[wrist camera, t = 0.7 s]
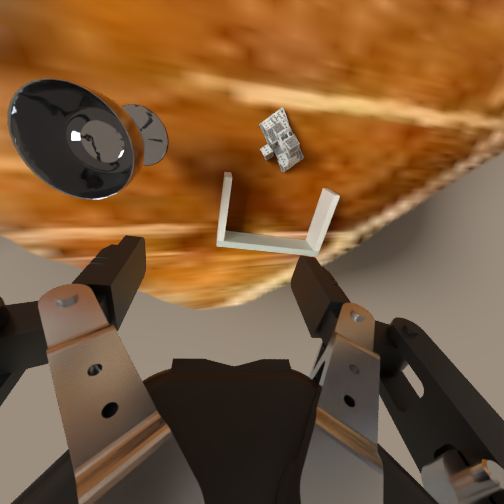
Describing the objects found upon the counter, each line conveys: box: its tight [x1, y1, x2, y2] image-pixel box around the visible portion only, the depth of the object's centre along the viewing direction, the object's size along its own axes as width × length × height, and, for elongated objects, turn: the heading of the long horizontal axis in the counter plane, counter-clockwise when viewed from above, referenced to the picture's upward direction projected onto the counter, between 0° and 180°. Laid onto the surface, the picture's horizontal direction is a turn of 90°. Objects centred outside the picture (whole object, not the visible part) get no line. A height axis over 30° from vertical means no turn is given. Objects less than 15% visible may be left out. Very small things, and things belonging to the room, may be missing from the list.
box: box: [217, 171, 340, 256], centre depth 35 cm, size 10×17×4 cm, turn 79°
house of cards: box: [259, 108, 304, 172], centre depth 28 cm, size 9×9×8 cm
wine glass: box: [8, 79, 168, 200], centre depth 22 cm, size 8×8×15 cm
